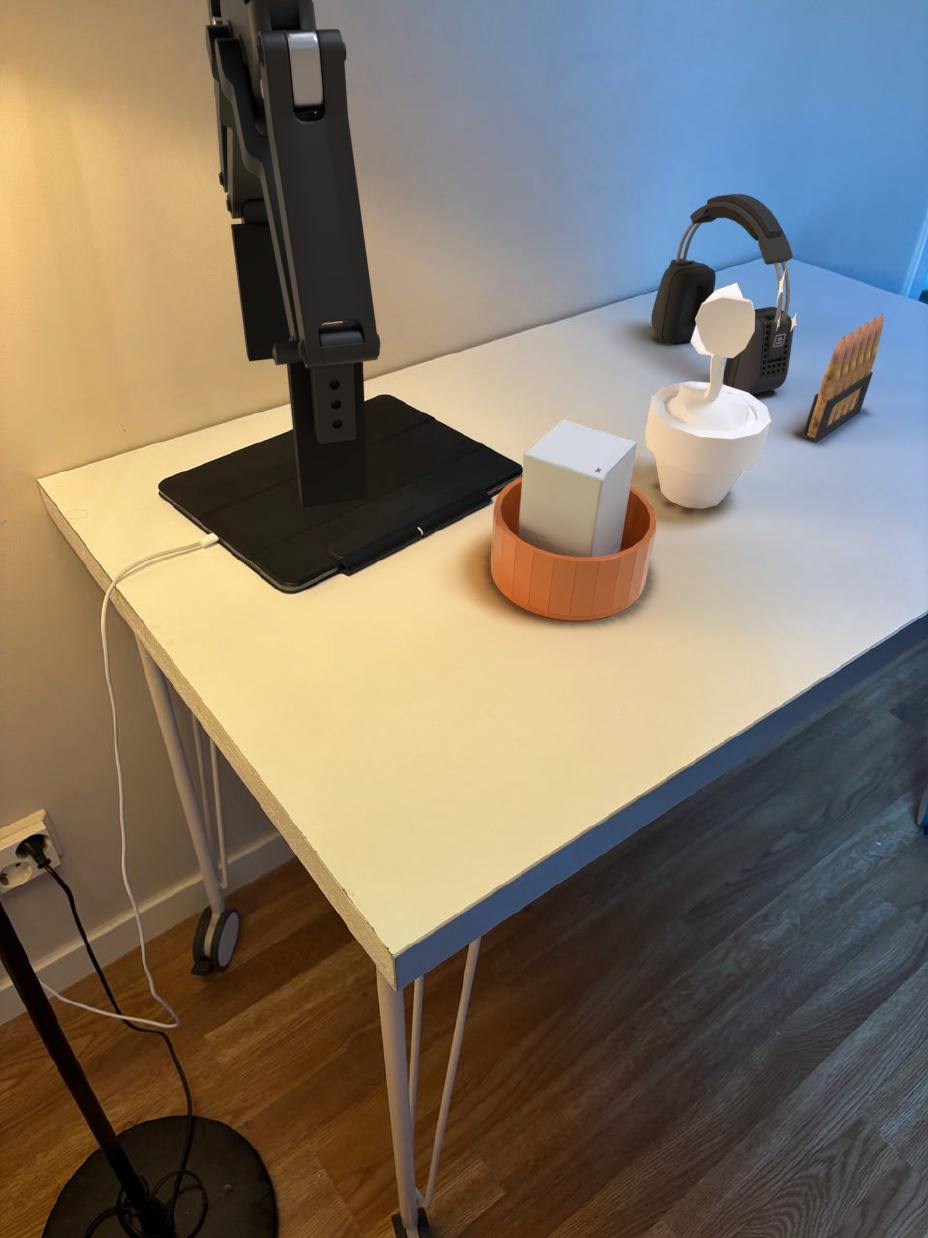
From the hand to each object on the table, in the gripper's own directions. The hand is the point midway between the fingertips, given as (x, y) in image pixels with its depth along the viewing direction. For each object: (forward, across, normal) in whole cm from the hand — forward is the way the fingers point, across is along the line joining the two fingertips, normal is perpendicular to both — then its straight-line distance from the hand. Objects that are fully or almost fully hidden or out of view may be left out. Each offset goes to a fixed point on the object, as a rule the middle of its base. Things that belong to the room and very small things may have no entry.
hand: (301, 419), depth 44 cm
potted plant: (+32, +32, -45) cm, 63 cm away
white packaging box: (+31, +23, -27) cm, 47 cm away
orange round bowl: (+32, +23, -27) cm, 47 cm away
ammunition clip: (+32, +40, -68) cm, 85 cm away
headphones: (+32, +58, -62) cm, 91 cm away
